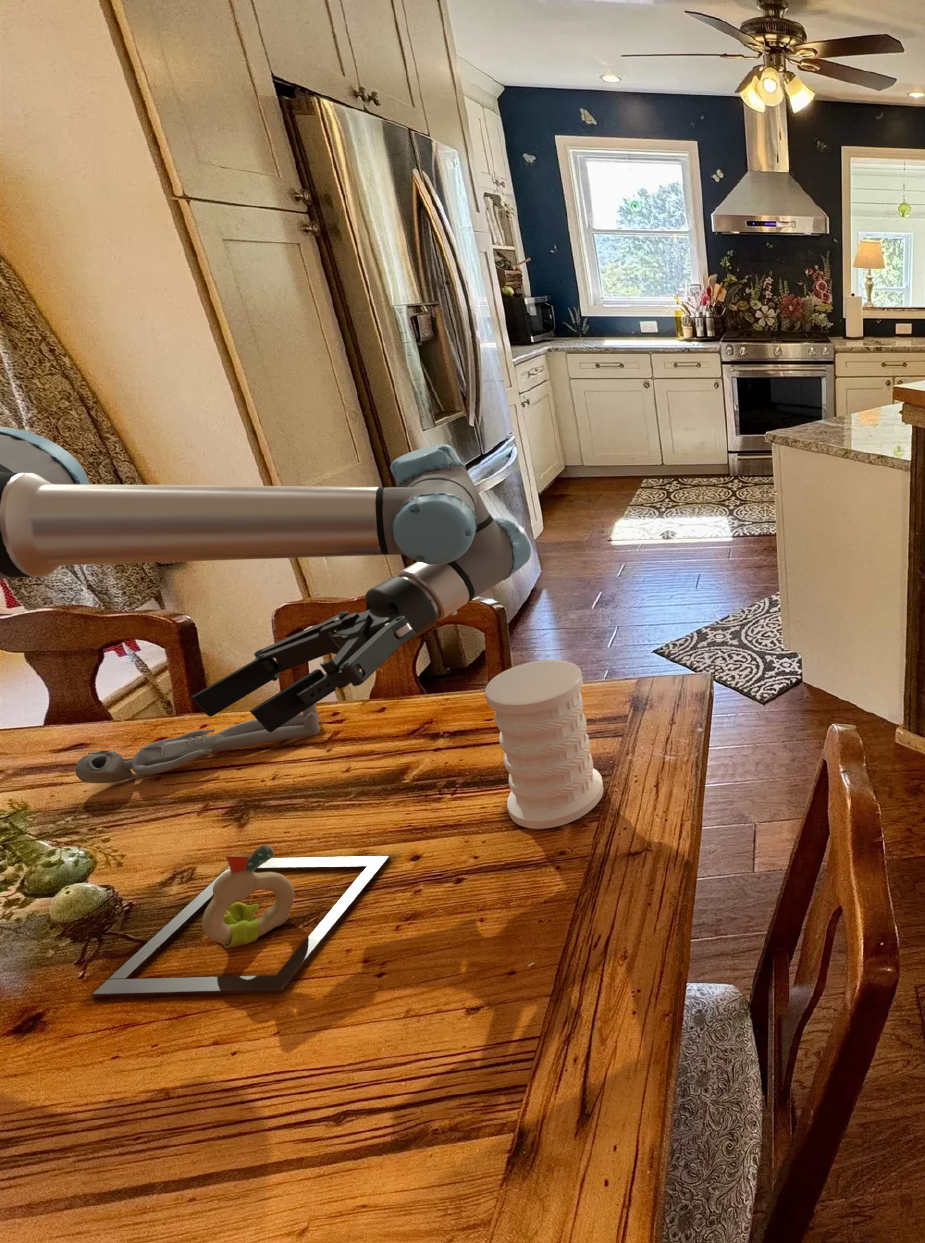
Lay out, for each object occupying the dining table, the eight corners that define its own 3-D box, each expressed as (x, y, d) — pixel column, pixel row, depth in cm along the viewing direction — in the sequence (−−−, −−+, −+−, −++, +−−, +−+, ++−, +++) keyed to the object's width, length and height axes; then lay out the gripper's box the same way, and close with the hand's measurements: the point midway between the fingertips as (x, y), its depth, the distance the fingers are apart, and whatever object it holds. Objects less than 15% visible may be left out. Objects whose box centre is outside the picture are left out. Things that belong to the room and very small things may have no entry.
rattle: (301, 880, 80) (270, 799, 76) (304, 928, 74) (270, 843, 70) (214, 913, 76) (175, 829, 72) (209, 966, 70) (166, 879, 66)
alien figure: (315, 714, 103) (63, 775, 88) (323, 742, 105) (77, 806, 90) (313, 691, 109) (76, 744, 94) (320, 718, 111) (88, 774, 96)
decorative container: (488, 810, 91) (459, 691, 85) (562, 761, 101) (541, 650, 94) (551, 840, 87) (526, 716, 80) (622, 786, 96) (605, 671, 90)
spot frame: (93, 998, 67) (91, 994, 67) (239, 861, 83) (237, 858, 82) (282, 993, 68) (280, 989, 68) (390, 858, 84) (389, 855, 83)
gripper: (493, 629, 84) (313, 757, 68) (379, 619, 96) (202, 726, 80) (460, 575, 80) (262, 698, 65) (346, 572, 92) (154, 675, 76)
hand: (228, 714), depth 72 cm, fingers open, 13 cm apart
